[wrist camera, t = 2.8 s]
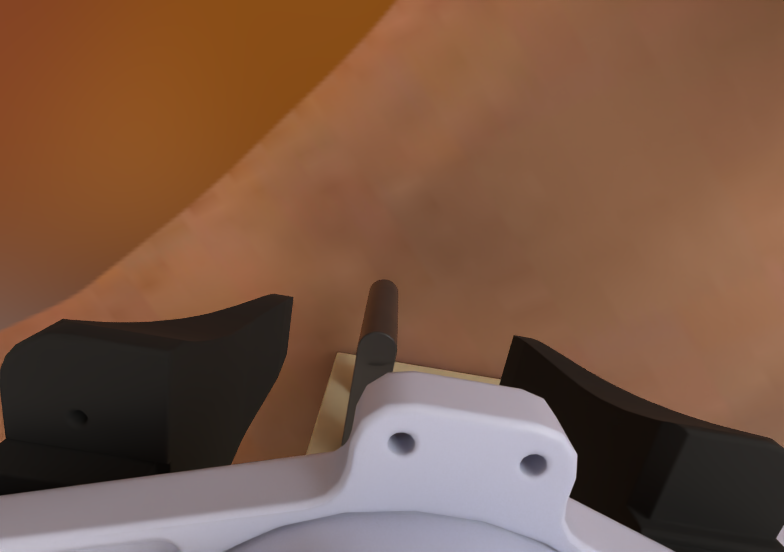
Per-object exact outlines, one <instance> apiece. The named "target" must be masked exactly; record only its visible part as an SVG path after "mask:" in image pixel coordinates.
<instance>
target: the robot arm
mask: <svg viewBox="0 0 784 552" xmlns="http://www.w3.org/2000/svg"><path fill="white" fill-rule="evenodd" d="M292 305H293V297H290V296H284V295H278V294H270V295H266V296H263V297H260V298H257V299H254V300H251V301H248V302H246V303H243V304H240V305H237V306H233V307H230V308H227V309H223V310H220V311H216V312H213V313H209V314H204V315H200V316H194V317H189V318H183V319H174V320H164V321H154V322H95V321H80V320H67V319H62V320H60V321H58V322H56V323H55V324H53V325H51V326H49V327H47V328H45V329H44V330H42V331H40V332H38V333H36V334H34V335H33V336H31V337H29V338H27V339H25V340H23V341H21V342H20V343H18V344H16V345H15V346H14V347H13V348H12V349H11V350H10V352H9V353H8V354H7V355H6V356H5V359H4V361H3V364H2V366H1V369H0V393H1V402H2V410H3V419H4V428H5V436H6V438H7V439H5V440H4V441H3V442H1V443H0V552H784V448H783V447H782V446H780V445H779V444H778V443H777V442H775V441H774V440H773V439H770V438H767V437H763V436H759V435H755V434H751V433H747V432H743V431H739V430H735V429H731V428H727V427H723V426H719V425H716V424H712V423H709V422H706V421H703V420H700V419H696V418H693V417H690V416H687V415H684V414H681V413H678V412H675V411H672V410H670V409H667V408H665V407H662V406H660V405H657V404H654V403H652V402H649V401H647V400H645V399H642V398H640V397H638V396H635V395H633V394H631V393H629V392H627V391H625V390H623V389H621V388H619V387H616V386H615V385H613V384H611V383H609V382H607V381H605V380H603V379H601V378H600V377H598V376H596V375H594V374H593V373H591V372H589V371H587V370H586V369H584V368H582V367H581V366H579V365H578V364H576V363H574V362H573V361H571V360H569V359H568V358H566V357H565V356H563V355H562V354H560V353H558V352H557V351H555V350H553V349H552V348H550V347H549V346H547V345H545V344H543V343H541V342H539V341H537V340H535V339H532V338H526V337H521V336H515V335H514V336H513V340H512V343H511V346H510V350H509V353H508V357H507V360H506V364H505V367H504V370H503V374H502V377H501V381H500V384H499V385H495V384H489V383H483V382H477V381H471V380H465V379H459V378H453V377H448V376H442V375H436V374H430V373H424V372H418V371H403V372H388V373H386V374H385V375H383V376H381V377H380V378H378V379H376V380H375V381H373V382H371V383H370V384H368V385H367V386H366V388H365V390H364V392H363V394H362V395H361V397H360V399H359V401H358V403H357V405H356V410H355V416H354V422H353V427H352V431H351V434H350V437H349V439H348V440H347V442H346V443H345V444H344V445H343V446H342V447H340V448H339V449H337V450H335V451H331V452H324V453H316V454H309V455H301V456H294V457H286V458H279V459H271V460H264V461H256V462H249V463H241V464H234V465H231V463H232V461H233V459H234V456H235V454H236V452H237V450H238V447H239V445H240V443H241V441H242V439H243V437H244V435H245V433H246V431H247V429H248V427H249V426H250V424H251V422H252V421H253V419H254V417H255V415H256V414H257V412H258V410H259V409H260V407H261V405H262V404H263V402H264V400H265V399H266V397H267V395H268V393H269V392H270V390H271V388H272V387H273V385H274V383H275V381H276V379H277V378H278V375H279V373H280V370H281V368H282V365H283V363H284V360H285V357H286V355H287V348H288V339H289V331H290V322H291V313H292Z"/></svg>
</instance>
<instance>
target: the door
mask: <svg viewBox="0 0 784 552" xmlns="http://www.w3.org/2000/svg"><path fill="white" fill-rule="evenodd" d="M397 328H398V289H397V287H396V285H395V284H394V283H393V282H391V281H389V280H378V281H376V282H375V283H373V284H372V286H371V288H370V291H369V296H368V300H367V305H366V310H365V314H364V319H363V324H362V328H361V333H360V338H359V342H358V347H357V353H356V355H352V354H346V353H340V352H338V353H337V354H336V358H335V361H334V364H333V367H332V371H331V374H330V377H329V380H328V384H327V387H326V390H325V394H324V397H323V400H322V403H321V407H320V410H319V413H318V416H317V420H316V423H315V426H314V430H313V433H312V436H311V439H310V443H309V446H308V449H307V452H306V455H309V454H316V453H324V452H331V451H335V450H337V449H339V448H340V447H342V446H343V445H344V444H345V443H346V442H347V440H348V439H349V437H350V434H351V431H352V427H353V422H354V416H355V410H356V405H357V403H358V401H359V399H360V397H361V395H362V394H363V392H364V390H365V388H366V386H367V385H368V384H370V383H371V382H373V381H375V380H376V379H378V378H380V377H381V376H383V375H385V374H386V373H388V372H403V371H418V372H424V373H430V374H436V375H442V376H448V377H453V378H459V379H465V380H471V381H477V382H483V383H489V384H495V385H499V384H500V381H501V379H495V378H489V377H483V376H477V375H471V374H465V373H459V372H453V371H447V370H441V369H435V368H429V367H423V366H417V365H411V364H405V363H399V362H395V359H396V354H397Z"/></svg>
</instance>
